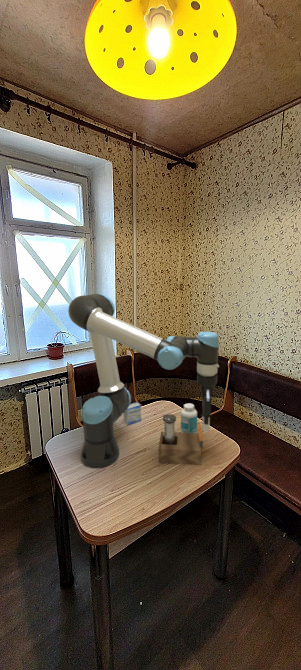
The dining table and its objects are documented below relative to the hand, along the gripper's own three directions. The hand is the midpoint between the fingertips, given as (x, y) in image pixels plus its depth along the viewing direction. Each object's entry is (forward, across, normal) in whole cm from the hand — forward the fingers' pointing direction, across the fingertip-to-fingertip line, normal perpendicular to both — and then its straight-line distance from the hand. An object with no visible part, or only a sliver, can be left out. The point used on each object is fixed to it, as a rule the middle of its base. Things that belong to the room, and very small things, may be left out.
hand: (205, 429), depth 107 cm
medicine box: (+12, +24, +34) cm, 43 cm away
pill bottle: (+12, +16, +6) cm, 21 cm away
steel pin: (+11, 0, +14) cm, 18 cm away
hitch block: (+11, 0, +10) cm, 15 cm away
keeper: (+1, 0, +3) cm, 3 cm away
